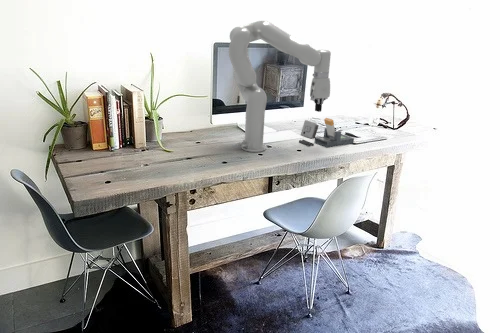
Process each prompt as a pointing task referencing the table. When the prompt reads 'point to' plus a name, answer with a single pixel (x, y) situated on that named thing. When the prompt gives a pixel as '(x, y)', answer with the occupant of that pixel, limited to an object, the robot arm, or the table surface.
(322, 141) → the double window frame
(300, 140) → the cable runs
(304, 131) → the electrical switch
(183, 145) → the table surface
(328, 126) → the breaker lever
